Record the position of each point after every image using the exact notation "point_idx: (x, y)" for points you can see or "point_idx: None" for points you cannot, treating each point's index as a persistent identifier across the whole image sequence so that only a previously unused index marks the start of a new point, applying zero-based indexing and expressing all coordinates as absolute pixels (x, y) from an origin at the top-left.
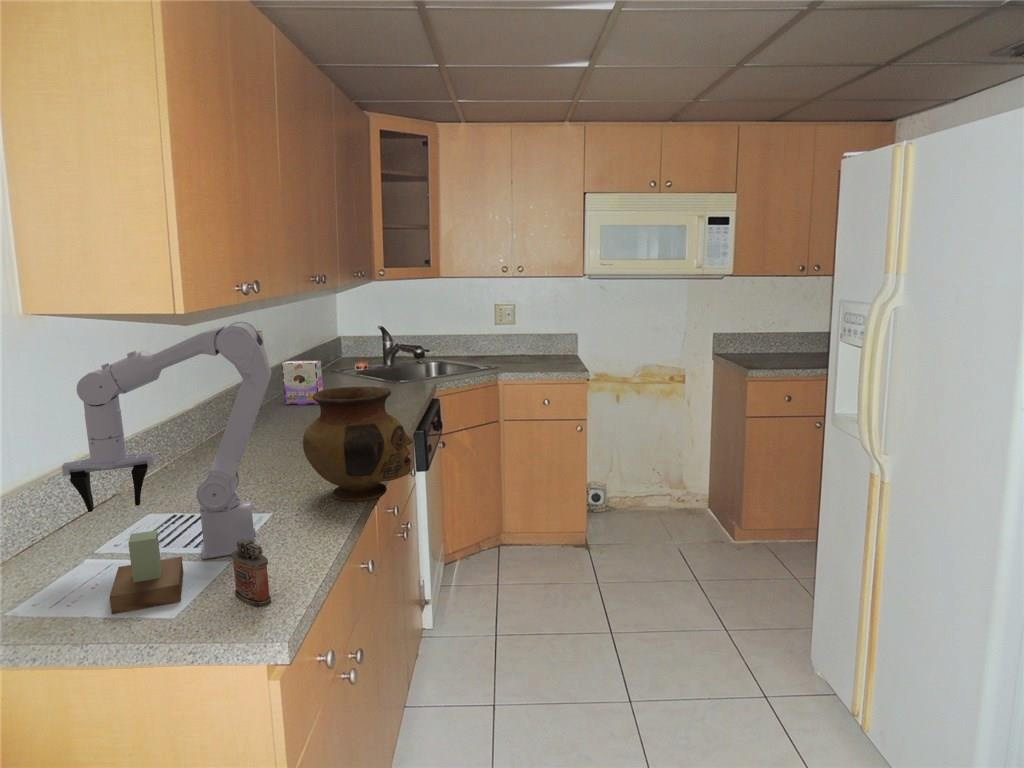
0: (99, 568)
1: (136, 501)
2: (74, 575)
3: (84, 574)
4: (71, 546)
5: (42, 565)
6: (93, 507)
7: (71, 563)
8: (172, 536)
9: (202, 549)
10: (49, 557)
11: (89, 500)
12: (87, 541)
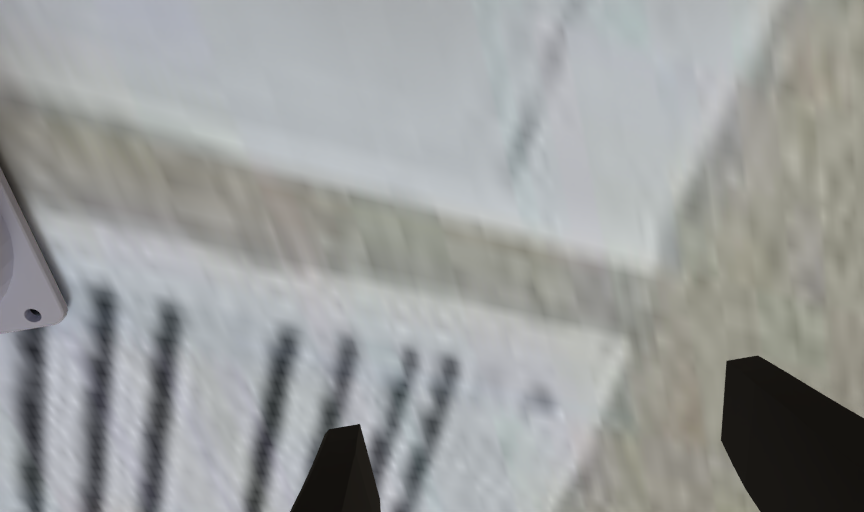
0: (566, 129)
1: (339, 449)
2: (683, 65)
3: (632, 64)
4: None
5: (848, 245)
6: (727, 435)
7: (718, 235)
8: (293, 446)
9: (11, 215)
10: (823, 330)
11: (807, 426)
12: (680, 464)
